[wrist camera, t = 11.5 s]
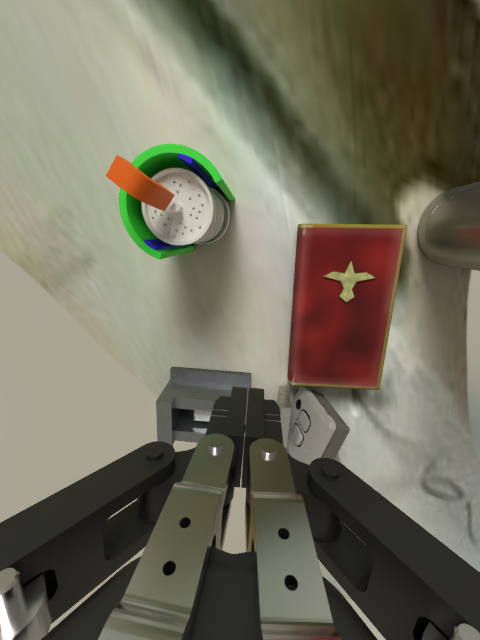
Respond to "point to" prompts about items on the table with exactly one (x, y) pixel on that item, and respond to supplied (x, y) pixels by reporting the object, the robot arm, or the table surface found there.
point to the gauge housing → (193, 401)
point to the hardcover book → (343, 303)
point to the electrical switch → (314, 427)
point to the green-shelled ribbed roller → (171, 199)
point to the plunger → (282, 403)
